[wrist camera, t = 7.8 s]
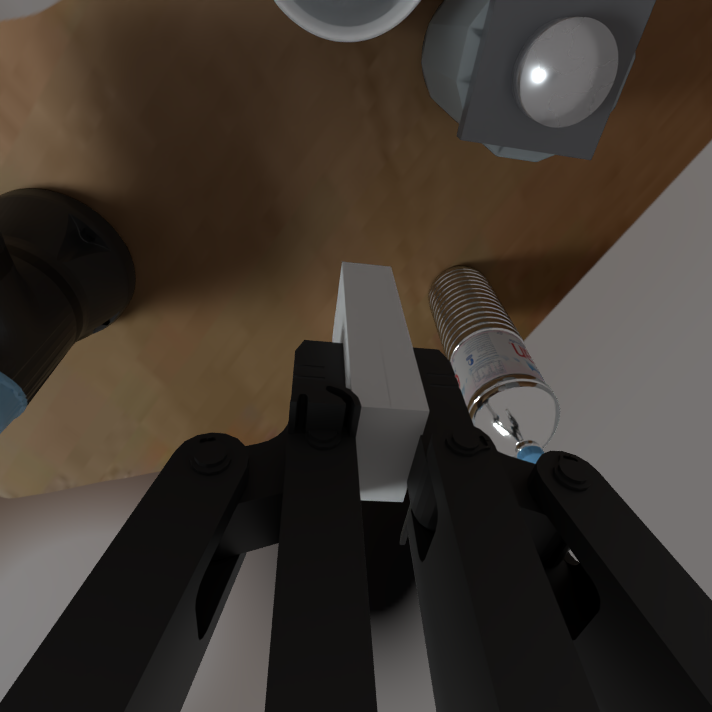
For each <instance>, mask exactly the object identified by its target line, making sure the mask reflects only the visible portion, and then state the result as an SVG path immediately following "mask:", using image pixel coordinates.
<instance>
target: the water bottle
mask: <svg viewBox="0 0 712 712" xmlns="http://www.w3.org/2000/svg"><path fill="white" fill-rule="evenodd" d="M428 300H429V306H430V310H431V313H432V316H433V319H434V322H435V325H436V328H437V332H438V335H439V338H440V341H441V344H442V347H443V350H444V353H445V356H446V358H447V359H448V360H449V361H450V362H451V365H452V367H453V370H454V373H455V378H457V381H458V384H459V388H460V389H461V392H462V395H463V397H464V400H465V403H466V406H467V408H468V411H469V414H470V417H471V419H472V422H473V425H474V426H475V427H477V428H479V429H481V430H482V431H483V432H484V433H486V434H487V435H488V436H489V437H490V438H491V440H492V441H493V443H494V444H495V446H496V449H497V451H499V452H501V453H503V454H506V455H509V456H511V457H515V458H518V459H521V460H524V461H528V462H531V463H534V464H536V462H537V460H538V459H539V457H540V456H541V455H542V454H544V452H543V448H544V447H545V446H546V445H547V444H548V442H549V441H550V440H551V438H552V437H553V435H554V433H555V431H556V428H557V426H558V422H559V418H560V407H559V403H558V400H557V398H556V396H555V395H554V393H553V391H552V390H551V388H550V387H549V386H548V385H547V384H546V383H545V381H544V379H543V378H542V376H541V374H540V372H539V371H538V369H537V367H536V365H535V364H534V362H533V360H532V358H531V356H530V355H529V353H528V351H527V349H526V347H525V344H524V341H523V339H522V338H521V336H520V334H519V333H518V331H517V329H516V327H515V326H514V324H513V322H512V321H511V319H510V317H509V316H508V314H507V312H506V310H505V309H504V307H503V305H502V303H501V302H500V300H499V298H498V297H497V295H496V293H495V291H494V290H493V288H492V286H491V285H490V283H489V281H488V280H487V279H486V277H485V276H484V275H483V274H482V273H481V272H480V271H478V270H476V269H474V268H472V267H468V266H457V267H452V268H450V269H447V270H445V271H444V272H442V273H441V274H440V275H438V276H437V277H436V279H435V280H434V281H433V283H432V285H431V287H430V290H429V296H428Z"/></svg>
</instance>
